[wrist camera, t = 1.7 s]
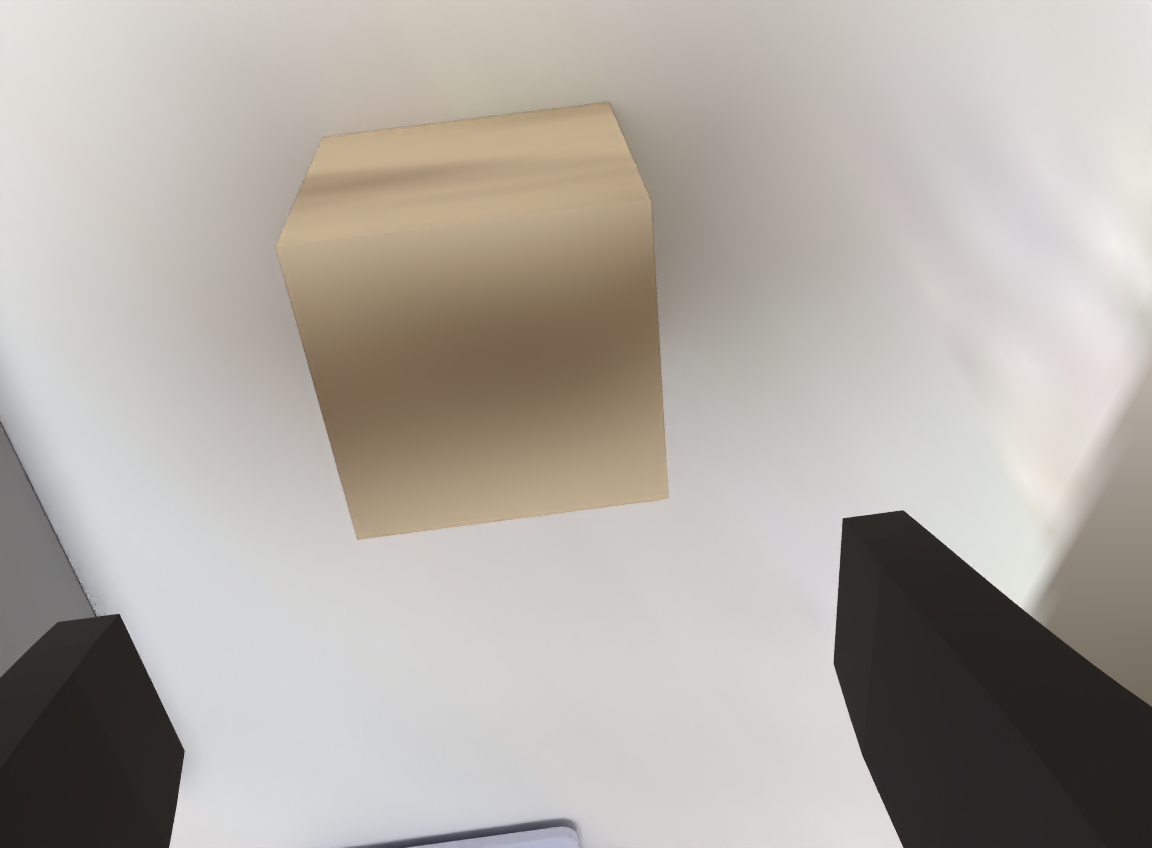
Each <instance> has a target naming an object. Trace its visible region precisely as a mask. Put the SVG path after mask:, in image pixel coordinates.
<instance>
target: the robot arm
mask: <svg viewBox="0 0 1152 848" xmlns="http://www.w3.org/2000/svg"><path fill="white" fill-rule="evenodd" d="M834 666H835V670H836V673H837V676H838V679H839V683H840V686H841V689H842V693H843V696H844V699H845V702H846V706H847V709H848V712H849V715H850V719H851V722H852V725H853V728H854V731H855V734H856V737H857V740H858V743H859V746H860V749H861V752H862V755H863V758H864V760H865V762H866V765H867V767H868V769H869V772H870V774H871V776H872V778H873V781H874V783H875V785H876V787H877V790H878V792H879V794H880V796H881V799H882V801H883V803H884V805H885V808H886V810H887V812H888V814H889V816H890V819H891V821H892V823H893V825H894V828H895V830H896V832H897V834H898V837H899V839H900V841H901V843H902V845H903V848H1152V707H1151V706H1150V705H1148V704H1147V703H1145V702H1144V701H1143V700H1141V699H1140V698H1138V697H1137V696H1136V695H1134V694H1133V693H1131V692H1130V691H1128V690H1127V689H1126V688H1124V687H1123V686H1121V685H1120V684H1119V683H1117V682H1116V681H1115V680H1113V679H1112V678H1111V677H1109V676H1108V675H1106V674H1105V673H1104V672H1102V671H1101V670H1100V669H1098V668H1097V667H1096V666H1094V665H1093V664H1092V663H1090V662H1089V661H1088V660H1087V659H1085V658H1084V657H1083V656H1081V655H1080V654H1079V653H1078V652H1076V651H1075V650H1074V649H1072V648H1071V647H1070V646H1069V645H1067V644H1066V643H1065V642H1063V641H1062V640H1061V639H1060V638H1058V637H1057V636H1056V635H1054V634H1053V633H1052V632H1050V631H1049V630H1048V629H1047V628H1045V627H1044V626H1043V625H1042V624H1040V623H1039V622H1038V621H1036V620H1035V619H1034V618H1033V617H1031V616H1030V615H1029V614H1028V613H1026V612H1025V611H1024V610H1023V609H1021V608H1020V607H1019V606H1018V605H1017V604H1015V603H1014V602H1013V601H1012V600H1010V599H1009V598H1008V597H1007V596H1006V595H1004V594H1003V593H1002V592H1001V591H999V590H998V589H997V588H996V587H995V586H993V585H992V584H991V583H990V582H989V581H987V580H986V579H985V578H984V577H983V576H981V575H980V574H979V573H978V572H977V571H975V570H974V569H973V568H972V567H971V566H969V565H968V564H967V563H966V562H965V561H963V560H962V559H961V558H960V557H959V556H957V555H956V554H955V553H954V552H953V551H952V550H950V549H949V548H948V547H947V546H946V545H944V544H943V543H942V542H941V541H940V540H938V539H937V538H936V537H935V536H934V535H932V534H931V533H930V532H929V531H928V530H926V529H925V528H924V527H923V526H922V525H920V524H919V523H918V522H917V521H916V520H914V519H913V518H912V517H911V516H909V515H908V514H907V513H906V512H905V511H895V512H888V513H880V514H872V515H865V516H857V517H850V518H843V524H842V540H841V555H840V571H839V587H838V602H837V618H836V634H835V650H834ZM184 752H185V751H184V749H183V747H182V745H181V742H180V740H179V738H178V736H177V734H176V732H175V730H174V728H173V726H172V723H171V721H170V719H169V717H168V715H167V713H166V711H165V709H164V707H163V705H162V702H161V700H160V698H159V696H158V694H157V692H156V690H155V688H154V686H153V684H152V681H151V679H150V677H149V675H148V673H147V671H146V669H145V667H144V665H143V663H142V660H141V658H140V656H139V654H138V652H137V650H136V648H135V646H134V644H133V641H132V639H131V637H130V635H129V633H128V631H127V629H126V627H125V625H124V623H123V620H122V618H121V616H120V614H114V615H107V616H99V617H92V618H84V619H76V620H69V621H61V622H57V623H56V624H55V625H54V626H53V627H52V628H51V629H49V630H48V631H47V632H46V633H45V634H44V635H43V636H42V637H41V638H40V639H39V640H38V641H37V642H36V643H35V644H34V645H32V646H31V647H30V648H29V649H28V650H27V651H26V652H25V653H24V654H23V655H22V656H21V657H20V658H19V659H18V660H17V661H16V662H15V663H14V664H13V665H12V666H11V667H10V668H9V669H8V670H7V671H6V672H5V673H4V674H3V675H2V676H1V677H0V848H169V845H170V839H171V834H172V828H173V823H174V817H175V811H176V806H177V799H178V792H179V786H180V779H181V772H182V765H183V758H184ZM407 848H580V847H579V840H578V835H577V833H576V832H575V831H574V830H573V829H571V828H568V827H553V828H545V829H538V830H531V831H524V832H516V833H509V834H502V835H494V836H487V837H480V838H473V839H465V840H458V841H451V842H444V843H436V844H429V845H422V846H415V847H407Z"/></svg>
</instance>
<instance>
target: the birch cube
mask: <svg viewBox="0 0 1152 848" xmlns="http://www.w3.org/2000/svg"><path fill="white" fill-rule="evenodd" d="M275 248H276V252H277V255H278V259H279V263H280V266H281V270H282V273H283V277H284V280H285V284H286V288H287V291H288V295H289V298H290V302H291V305H292V309H293V312H294V316H295V320H296V323H297V327H298V330H299V334H300V337H301V341H302V344H303V348H304V352H305V355H306V359H307V362H308V366H309V369H310V373H311V376H312V380H313V384H314V387H315V391H316V394H317V398H318V401H319V405H320V409H321V412H322V416H323V419H324V423H325V426H326V430H327V433H328V437H329V441H330V444H331V448H332V451H333V455H334V458H335V462H336V465H337V469H338V473H339V476H340V480H341V483H342V487H343V490H344V494H345V498H346V501H347V505H348V508H349V512H350V515H351V519H352V522H353V526H354V530H355V533H356V537H357V539H365V538H373V537H380V536H388V535H395V534H403V533H411V532H418V531H426V530H433V529H441V528H449V527H456V526H464V525H471V524H479V523H487V522H494V521H502V520H510V519H517V518H525V517H532V516H540V515H548V514H555V513H563V512H570V511H578V510H586V509H593V508H601V507H608V506H616V505H624V504H631V503H639V502H646V501H654V500H662V499H668V482H667V465H666V448H665V430H664V413H663V396H662V379H661V361H660V344H659V327H658V310H657V293H656V275H655V258H654V241H653V224H652V206H651V198H650V196H649V194H648V191H647V189H646V187H645V184H644V182H643V180H642V178H641V175H640V173H639V171H638V168H637V166H636V164H635V161H634V159H633V157H632V155H631V152H630V150H629V148H628V145H627V143H626V141H625V138H624V136H623V134H622V132H621V129H620V127H619V125H618V122H617V120H616V118H615V116H614V113H613V111H612V109H611V106H610V104H609V102H603V103H595V104H587V105H579V106H571V107H563V108H554V109H546V110H538V111H530V112H522V113H514V114H506V115H497V116H489V117H481V118H473V119H465V120H457V121H449V122H440V123H432V124H424V125H416V126H408V127H400V128H392V129H383V130H375V131H367V132H359V133H351V134H343V135H335V136H326V137H322V140H321V142H320V144H319V147H318V149H317V151H316V153H315V156H314V158H313V160H312V163H311V165H310V167H309V170H308V172H307V174H306V176H305V179H304V181H303V183H302V186H301V188H300V190H299V193H298V195H297V197H296V200H295V202H294V204H293V206H292V209H291V211H290V213H289V216H288V218H287V220H286V223H285V225H284V227H283V229H282V232H281V234H280V236H279V239H278V241H277V243H276V246H275Z"/></svg>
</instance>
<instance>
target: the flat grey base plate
mask: <svg viewBox="0 0 1152 848" xmlns="http://www.w3.org/2000/svg"><path fill="white" fill-rule="evenodd" d="M92 617H96V616H95V614H94V612H93V610H92V608H91V606H90V604H89V602H88V600H87V598H86V596H85V594H84V592H83V590H82V588H81V586H80V584H79V582H78V580H77V578H76V576H75V574H74V572H73V570H72V568H71V566H70V564H69V562H68V560H67V558H66V556H65V553H64V551H63V549H62V547H61V545H60V543H59V541H58V539H57V537H56V535H55V533H54V531H53V529H52V527H51V525H50V523H49V521H48V519H47V517H46V515H45V513H44V511H43V509H42V507H41V505H40V503H39V501H38V499H37V497H36V495H35V493H34V491H33V489H32V487H31V485H30V483H29V480H28V478H27V476H26V474H25V472H24V470H23V468H22V466H21V464H20V462H19V460H18V458H17V456H16V454H15V452H14V450H13V448H12V446H11V444H10V442H9V440H8V438H7V436H6V434H5V432H4V430H3V428H2V426H1V424H0V677H1V676H2V675H3V674H4V673H5V672H6V671H7V670H8V669H9V668H10V667H11V666H12V665H13V664H14V663H15V662H16V661H17V660H18V659H19V658H20V657H21V656H22V655H23V654H24V653H25V652H26V651H27V650H28V649H29V648H30V647H31V646H32V645H34V644H35V643H36V642H37V641H38V640H39V639H40V638H41V637H42V636H43V635H44V634H45V633H46V632H47V631H48V630H49V629H51V628H52V627H53V626H54V625H55V624H56V623H57V622H61V621H69V620H76V619H84V618H92Z"/></svg>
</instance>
